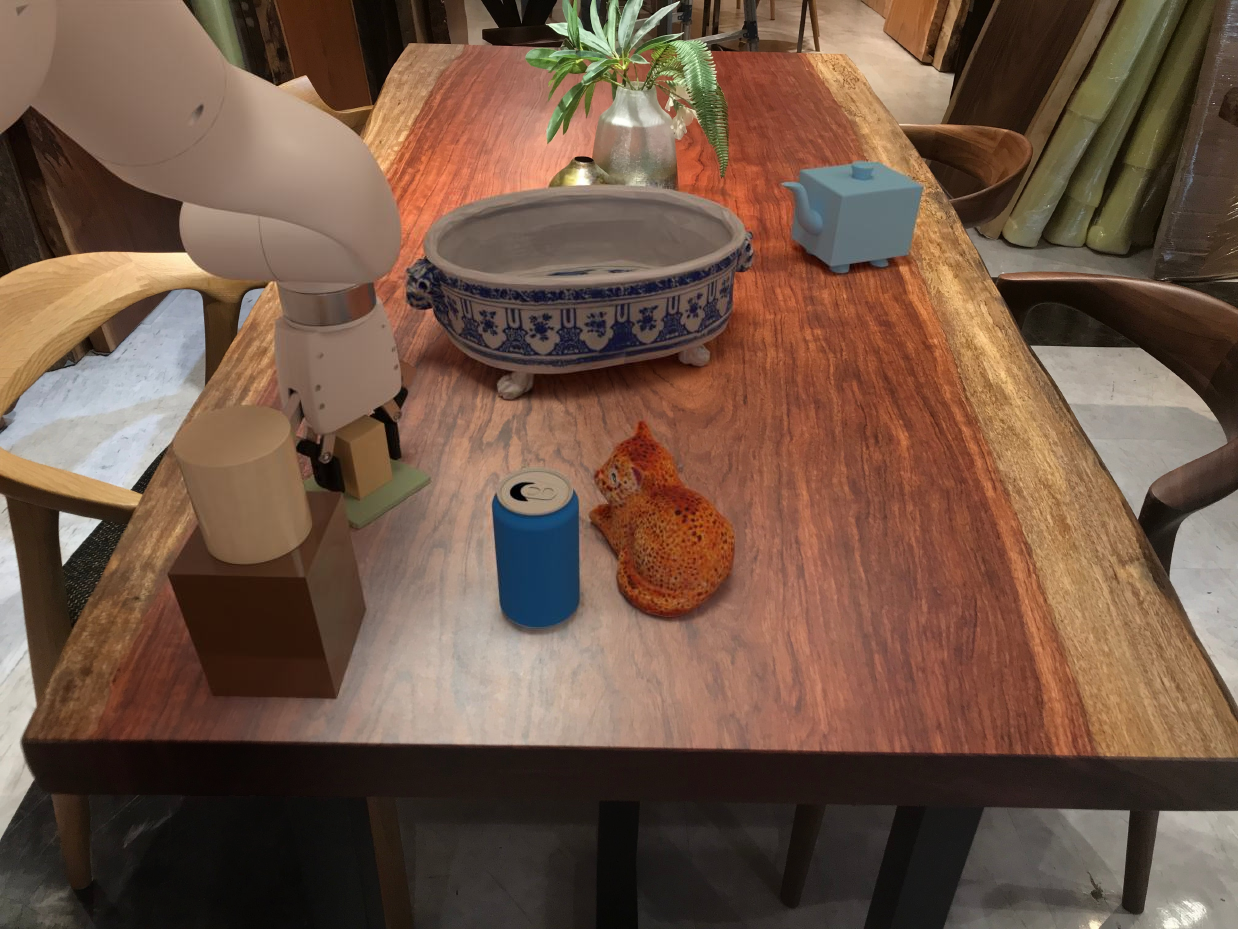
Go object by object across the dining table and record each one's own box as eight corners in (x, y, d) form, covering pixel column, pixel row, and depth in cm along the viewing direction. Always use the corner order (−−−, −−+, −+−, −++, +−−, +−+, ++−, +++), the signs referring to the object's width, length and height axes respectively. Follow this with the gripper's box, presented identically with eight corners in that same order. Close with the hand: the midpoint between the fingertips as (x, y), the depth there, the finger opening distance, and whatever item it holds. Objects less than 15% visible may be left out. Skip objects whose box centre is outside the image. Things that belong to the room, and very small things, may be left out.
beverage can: (510, 574, 76) (502, 459, 69) (585, 582, 75) (585, 467, 68) (491, 629, 70) (480, 512, 63) (571, 639, 70) (570, 521, 63)
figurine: (568, 522, 81) (567, 431, 75) (671, 491, 85) (677, 402, 79) (649, 635, 70) (654, 538, 64) (762, 593, 74) (777, 498, 69)
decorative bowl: (701, 276, 125) (710, 169, 116) (796, 366, 105) (815, 245, 96) (396, 319, 113) (380, 203, 104) (436, 430, 93) (421, 298, 84)
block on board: (358, 529, 80) (346, 466, 76) (294, 492, 84) (279, 430, 80) (431, 481, 86) (423, 420, 82) (368, 448, 90) (357, 389, 86)
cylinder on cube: (336, 698, 65) (280, 478, 53) (212, 695, 65) (129, 474, 53) (366, 609, 72) (323, 398, 60) (255, 606, 72) (190, 394, 60)
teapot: (878, 235, 139) (896, 145, 131) (921, 263, 131) (944, 169, 122) (752, 253, 132) (763, 159, 124) (789, 283, 124) (804, 185, 116)
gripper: (377, 251, 81) (401, 418, 91) (207, 320, 69) (257, 501, 80) (436, 273, 77) (454, 443, 88) (267, 349, 66) (312, 535, 76)
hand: (360, 469), depth 84 cm, fingers open, 6 cm apart
